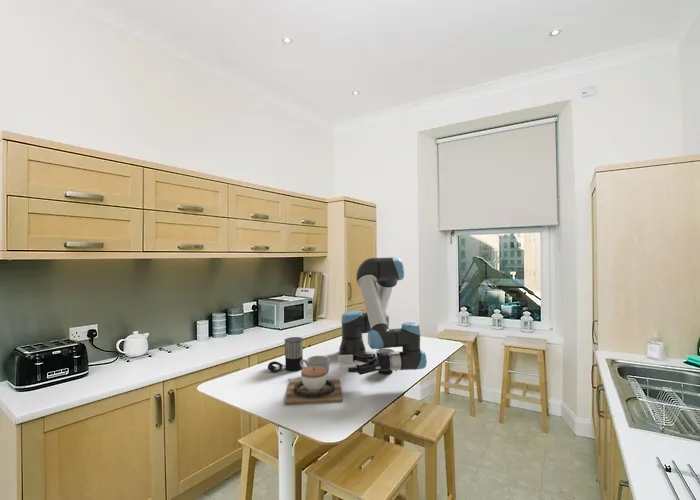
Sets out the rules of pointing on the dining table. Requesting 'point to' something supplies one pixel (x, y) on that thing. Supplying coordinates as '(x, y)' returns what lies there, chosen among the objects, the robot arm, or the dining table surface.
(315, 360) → the teacup
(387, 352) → the coffee mug
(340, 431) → the dining table surface
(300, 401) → the locating board
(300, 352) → the milk frother
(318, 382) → the lidded jar
